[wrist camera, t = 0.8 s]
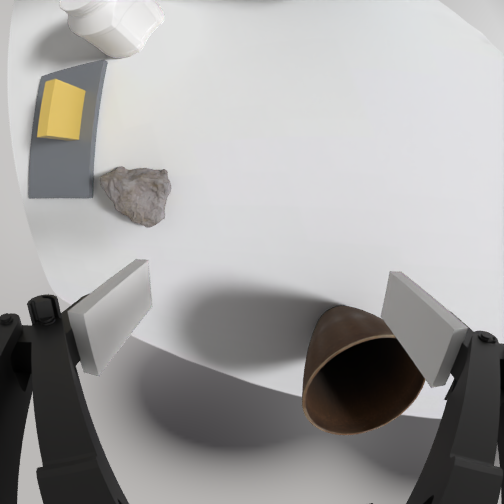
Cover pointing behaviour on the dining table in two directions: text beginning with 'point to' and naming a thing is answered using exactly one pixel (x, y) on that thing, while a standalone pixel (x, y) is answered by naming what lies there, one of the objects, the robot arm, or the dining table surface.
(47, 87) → the yellow block
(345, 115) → the dining table surface
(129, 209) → the stone
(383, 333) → the plant pot
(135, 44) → the jar
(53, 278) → the dining table surface
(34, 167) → the slate board
